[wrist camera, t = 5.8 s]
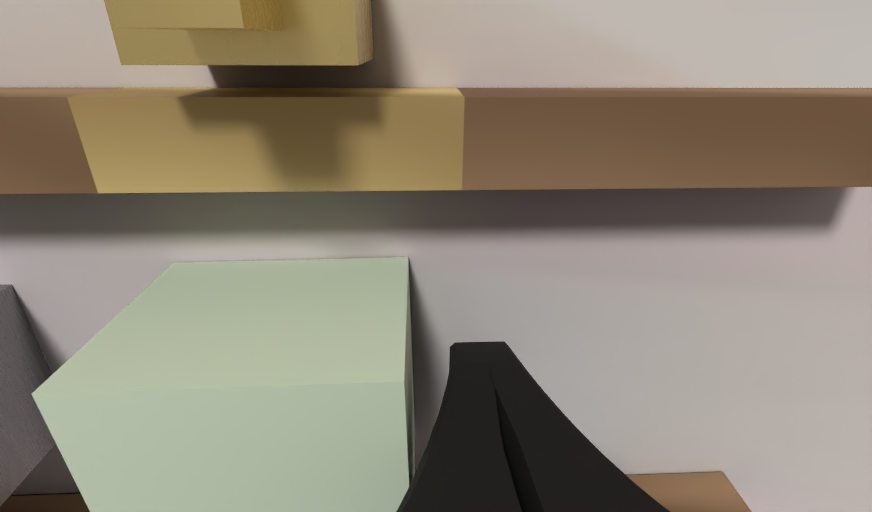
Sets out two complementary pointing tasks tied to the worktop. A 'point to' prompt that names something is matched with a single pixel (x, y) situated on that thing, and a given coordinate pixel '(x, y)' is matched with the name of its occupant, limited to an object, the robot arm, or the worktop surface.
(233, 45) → the tan textured block
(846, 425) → the worktop surface
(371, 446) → the block
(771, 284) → the worktop surface
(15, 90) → the twin wooden rails
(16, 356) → the block
